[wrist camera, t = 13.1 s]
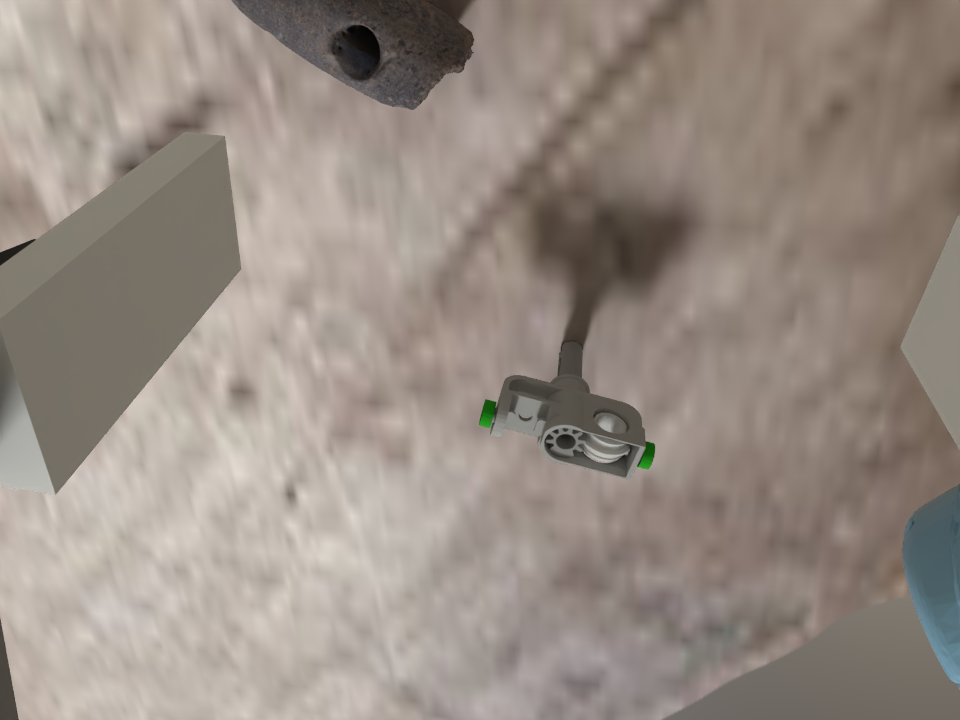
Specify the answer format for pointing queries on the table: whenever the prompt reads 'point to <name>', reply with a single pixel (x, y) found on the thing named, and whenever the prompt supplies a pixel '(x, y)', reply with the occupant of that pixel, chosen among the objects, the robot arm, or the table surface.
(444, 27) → the perforated stone tool
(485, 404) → the mechanical component
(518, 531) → the table surface
